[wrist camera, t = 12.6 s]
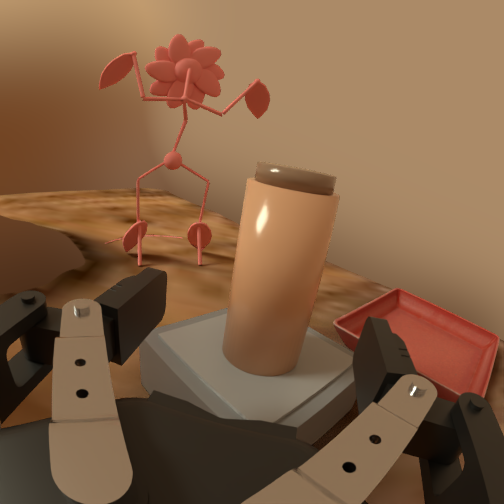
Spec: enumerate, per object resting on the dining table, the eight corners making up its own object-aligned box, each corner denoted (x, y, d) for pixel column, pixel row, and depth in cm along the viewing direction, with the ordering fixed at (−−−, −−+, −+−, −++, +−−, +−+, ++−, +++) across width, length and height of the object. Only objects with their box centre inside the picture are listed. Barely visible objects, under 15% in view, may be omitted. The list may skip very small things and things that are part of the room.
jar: (206, 343, 21) (230, 157, 17) (260, 323, 24) (290, 165, 20) (261, 387, 17) (307, 173, 13) (313, 357, 21) (359, 181, 17)
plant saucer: (464, 430, 20) (483, 404, 19) (322, 346, 32) (330, 319, 31) (490, 356, 32) (500, 336, 31) (390, 306, 44) (396, 286, 43)
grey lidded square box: (141, 383, 22) (138, 329, 20) (250, 342, 30) (259, 295, 29) (245, 495, 14) (261, 451, 13) (351, 408, 23) (374, 360, 21)
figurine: (254, 266, 50) (288, 45, 39) (83, 269, 39) (112, 11, 28) (221, 237, 63) (247, 63, 52) (89, 236, 52) (111, 43, 41)
